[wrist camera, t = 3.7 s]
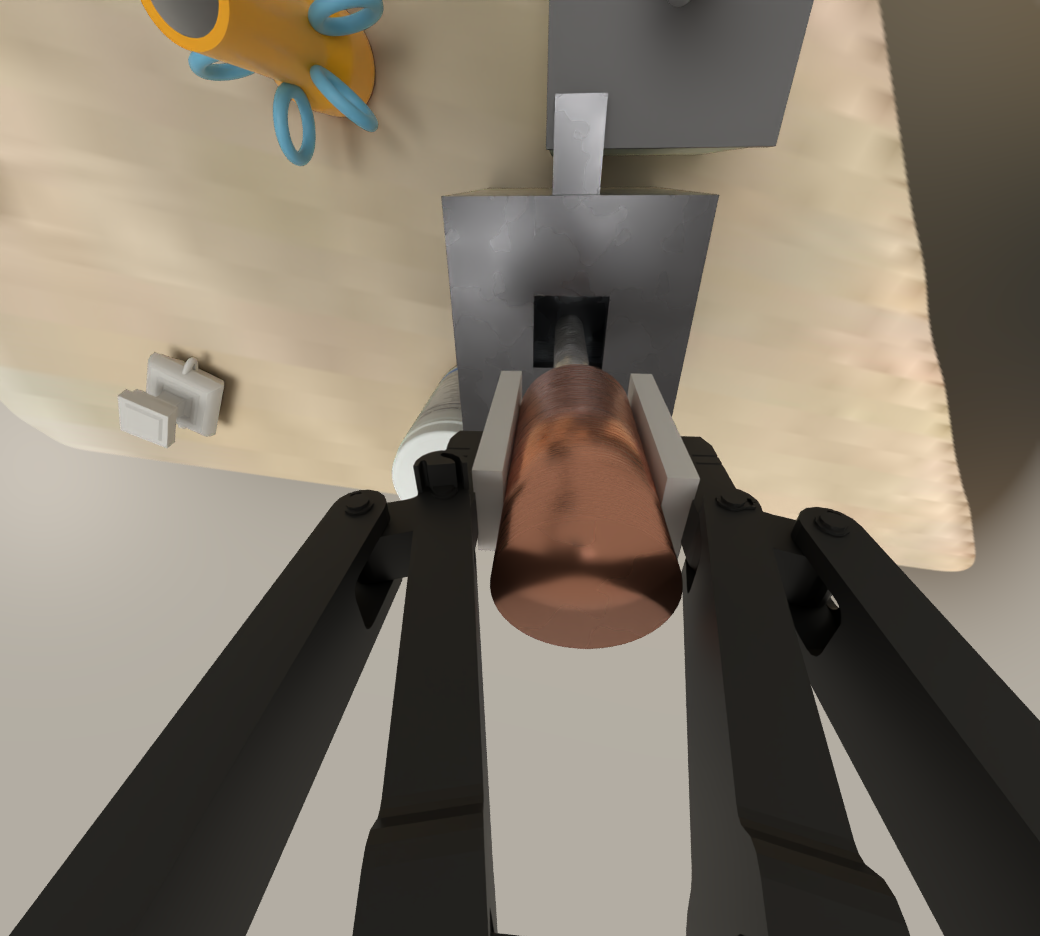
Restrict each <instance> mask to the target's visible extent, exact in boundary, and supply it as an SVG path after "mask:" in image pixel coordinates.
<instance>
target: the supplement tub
mask: <svg viewBox="0 0 1040 936" xmlns="http://www.w3.org/2000/svg"><path fill="white" fill-rule="evenodd" d="M460 430H461V431H463V424H462V413H461V402H460V391H459V381H458V370H457V366H456V367H454V368H453V369H451V370H450V371H449V372H448V373H447V374H446V375H445V376H444V377H443V379H442V380H441V382H440V383H439V385H438V386H437V388H436V389H435V391H434V393H433V394H432V396H431V397H430V399H429V400H428V402H427V403H426V405H425V407H424V408H423V410H422V411H421V413H420V414H419V416H418V417H417V419H416V421H415V422H414V424H413V425H412V427H411V428H410V430H409V431H408V433H407V435H406V436H405V438H404V440H403V441H402V443H401V445H400V446H399V449H398V451H397V455H396V457H395V459H394V462H393V467H392V480H393V484H394V488H395V490H396V492H397V494H398V496H399V498H400V499H401V500H406V499H410V498H413V497H415V496H417V495H418V492H417V486H416V480H415V475H414V469H413V465H414V463H415V461H416V460H417V459H419V458H420V457H421V456H422V455H425V454H427V453H430V452H434V451H440V450H446V449H447V445H448V443H449V440H450V438H451V437H453V436H454V435H455V434H456V433H457V432H459V431H460Z"/></svg>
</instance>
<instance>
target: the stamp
mask: <svg viewBox="0 0 1040 936" xmlns="http://www.w3.org/2000/svg"><path fill="white" fill-rule="evenodd" d="M223 389H224V381H223V380H221V379H219V378H217V377H215V376H213V375H211V374H209V373H207V372H205V371H203V370H201V369H199V368H198V361H197V359H196V358H195V357H191V358H189V359H188V360H187V361H186V362H184V361H182V360H178V359H174V358H172V357H169V356H166V355H163V354H158V353H156V352H154V353H153V354H152V355H150V357H149V359H148V370H147V387H146V392H144V391H142V390H138V389H136V390H134V391H133V392H132V391H129V390H127V389H126V390H125V391H123V392H122V393H121V394H119V395H118V406H119V418H120V430H121V431H124V432H127V433H129V434H132V435H134V436H137V437H139V438H142V439H144V440H147V441H150V442H152V443H155V444H157V445H160V446H162V447H165V448H168V447H169V446H171V445H172V444H173V443H174V442H175V428H176V423H177V424H178V426H179V428H183V429H185V428H188V429H190V430H192V431H195V432H197V433H199V434H201V435H203V436H212V435H215V434H216V428H217V423H218V417H219V411H220V406H221V400H222V395H223Z"/></svg>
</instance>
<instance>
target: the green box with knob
mask: <svg viewBox="0 0 1040 936" xmlns="http://www.w3.org/2000/svg"><path fill="white" fill-rule="evenodd" d="M813 1H814V0H549V35H548V82H547V128H546V150H550V152H551V155H552V156H554V122H555V94H573V93H608V99H607V111H606V124H605V136H604V148H603V156H615V155H699V154H708V153H715V152H722V151H728V150H735V149H741V148H748V147H773V146H776V142H777V139H778V135H779V131H780V127H781V123H782V120H783V116H784V112H785V108H786V104H787V100H788V97H789V93H790V89H791V85H792V81H793V77H794V74H795V70H796V66H797V62H798V58H799V54H800V51H801V47H802V43H803V39H804V35H805V31H806V28H807V24H808V20H809V16H810V12H811V9H812V5H813Z"/></svg>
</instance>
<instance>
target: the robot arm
mask: <svg viewBox="0 0 1040 936" xmlns="http://www.w3.org/2000/svg"><path fill="white" fill-rule="evenodd" d="M627 397H628V399H629V403H630V406H631V409H632V413H633V416H634V419H635V422H636V426H637V429H638V432H639V436H640V439H641V442H642V445H643V449H644V452H645V455H646V459H647V462H648V465H649V468H650V472H651V475H652V478H653V481H654V485H655V488H656V491H657V495H658V498H659V501H660V504H661V508H662V511H663V514H664V518H665V521H666V524H667V527H668V531H669V534H670V537H671V541H672V544H673V547H674V550H675V554H676V557H677V560H678V556H679V552H680V549H681V545H682V547H683V550H684V553H685V556H686V559H685V563H684V566H683V569H682V573H681V574H682V579H683V616H684V645H685V678H686V708H687V735H688V736H687V738H688V769H689V799H690V830H691V859H692V883H691V893H690V899H689V906H688V913H687V927H686V936H910V934H909V931H908V928H907V925H906V923H905V920H904V917H903V915H902V912H901V910H900V907H899V905H898V902H897V900H896V898H895V896H894V895H893V893H892V891H891V890H890V888H889V887H888V885H887V884H886V882H885V880H884V879H883V878H882V877H880V876H879V875H878V874H877V873H875V872H874V871H873V870H872V869H870V868H869V867H868V866H867V865H865V863H864V862H863V860H862V858H861V857H860V855H859V853H858V850H857V848H856V845H855V842H854V839H853V835H852V832H851V828H850V824H849V821H848V818H847V814H846V810H845V806H844V803H843V799H842V796H841V792H840V788H839V785H838V782H837V778H836V774H835V771H834V767H833V763H832V760H831V756H830V752H829V749H828V746H827V742H826V738H825V734H824V731H823V727H822V724H821V721H820V717H819V713H818V710H817V706H816V702H815V698H814V695H813V691H812V688H813V690H814V691H815V693H816V695H817V697H818V699H819V701H820V703H821V705H822V706H823V708H824V710H825V712H826V714H827V716H828V718H829V720H830V722H831V724H832V725H833V727H834V729H835V731H836V733H837V735H838V737H839V739H840V740H841V742H842V744H843V746H844V748H845V750H846V752H847V754H848V755H849V757H850V759H851V761H852V763H853V765H854V767H855V769H856V771H857V772H858V774H859V776H860V778H861V780H862V782H863V784H864V785H865V787H866V789H867V791H868V793H869V795H870V797H871V799H872V801H873V803H874V804H875V806H876V808H877V810H878V812H879V814H880V815H881V818H882V819H883V821H884V823H885V825H886V827H887V829H888V831H889V833H890V834H891V836H892V838H893V840H894V842H895V844H896V845H897V848H898V850H899V851H900V853H901V855H902V857H903V859H904V861H905V862H906V865H907V866H908V868H909V870H910V872H911V874H912V876H913V878H914V880H915V881H916V883H917V885H918V887H919V889H920V891H921V893H922V895H923V897H924V898H925V900H926V902H927V904H928V906H929V908H930V910H931V912H932V914H933V915H934V917H935V919H936V921H937V923H938V925H939V927H940V929H941V930H942V932H943V934H944V936H1040V721H1039V719H1038V718H1037V717H1036V716H1035V715H1034V714H1033V713H1032V712H1031V711H1030V710H1029V709H1028V707H1027V706H1025V704H1024V703H1023V702H1022V701H1021V700H1020V699H1019V698H1018V697H1017V696H1016V694H1015V693H1014V692H1013V691H1012V690H1011V689H1010V688H1009V687H1008V686H1007V685H1006V683H1005V682H1004V681H1003V680H1002V679H1001V678H1000V677H999V676H998V675H997V674H996V673H995V672H994V671H993V669H992V668H991V667H990V666H989V665H988V664H987V663H986V662H985V661H984V660H983V658H982V657H981V656H980V655H979V654H978V653H977V652H976V651H975V650H974V649H973V648H972V646H971V645H970V644H969V643H968V642H967V641H966V640H965V639H964V638H963V637H962V636H961V635H960V633H959V632H958V631H957V630H956V629H955V628H954V627H953V626H952V625H951V623H950V622H949V621H948V620H947V619H946V618H945V617H944V616H943V615H942V614H941V613H940V611H938V609H937V608H936V607H935V606H934V605H933V604H932V603H931V602H930V601H929V599H928V598H927V597H926V596H925V595H924V594H923V593H922V592H921V591H920V590H919V589H918V587H917V586H916V585H915V584H914V583H913V582H912V581H911V580H910V579H909V578H908V577H907V575H906V574H904V572H903V571H902V570H901V569H900V568H899V567H898V566H897V565H896V563H895V562H894V561H893V560H892V559H891V558H890V557H889V556H888V555H887V554H886V553H885V551H884V550H883V549H882V548H881V547H880V546H879V545H878V544H877V543H876V542H875V541H874V539H873V538H872V537H871V536H870V535H869V534H868V533H867V532H866V531H865V530H864V529H863V527H862V526H861V525H859V524H858V523H857V522H856V521H855V520H853V519H852V518H850V517H848V516H846V515H844V514H842V513H841V512H838V511H834V510H832V509H828V508H820V507H812V508H806V509H804V510H803V511H801V512H800V514H799V516H798V518H797V520H793V519H789V518H785V517H780V516H776V515H772V514H769V513H766V512H763V511H762V508H761V506H760V504H759V502H758V501H757V500H756V499H755V498H754V497H752V496H751V495H750V494H748V493H746V492H743V491H741V490H739V489H736V488H735V486H734V484H733V483H732V481H731V479H730V477H729V476H728V474H727V472H726V470H725V468H724V467H723V465H722V463H721V461H720V460H719V458H718V457H717V454H716V452H715V451H714V449H713V447H712V446H711V445H710V444H709V443H708V442H706V441H705V440H704V439H702V438H701V437H687V436H680V434H679V432H678V430H677V428H676V425H675V423H674V421H673V419H672V417H671V415H670V412H669V410H668V408H667V406H666V404H665V402H664V399H663V397H662V395H661V393H660V391H659V389H658V386H657V384H656V382H655V380H654V378H653V375H652V374H631V375H630V381H629V388H628V395H627ZM521 402H522V371H501V374H500V378H499V381H498V384H497V388H496V391H495V394H494V398H493V401H492V404H491V408H490V411H489V414H488V418H487V421H486V424H485V428H484V431H461V430H460V431H459V432H457V433H456V434H455V435H454V436H453V437H451V438H450V440H449V443H448V445H447V449H446V450H440V451H434V452H430V453H427V454H425V455H422V456H421V457H420V458H419V459H417V460H416V461H415V463H414V465H413V469H414V475H415V480H416V486H417V492H418V495H417V496H415V497H413V498H410V499H406V500H401V501H396V502H390V503H387V502H386V499H385V496H384V495H382V494H381V493H380V492H378V491H373V490H359V491H355V492H352V493H348V494H347V495H345V496H343V497H341V498H339V499H338V500H337V501H336V502H335V503H334V504H333V506H332V507H331V508H330V509H329V511H328V512H327V513H326V515H325V516H324V518H323V519H322V520H321V521H320V523H319V524H318V525H317V527H316V528H315V529H314V531H313V532H312V533H311V535H310V536H309V537H308V539H307V540H306V541H305V543H304V544H303V545H302V547H301V548H300V549H299V551H298V552H297V553H296V555H295V556H294V557H293V558H292V560H291V561H290V562H289V564H288V565H287V566H286V568H285V569H284V571H283V572H282V573H281V575H280V576H279V577H278V579H277V580H276V581H275V583H274V584H273V585H272V587H271V588H270V589H269V591H268V592H267V593H266V594H265V596H264V597H263V599H262V600H261V601H260V603H259V604H258V605H257V606H256V608H255V609H254V611H253V612H252V613H251V614H250V616H249V617H248V619H247V620H246V621H245V622H244V624H243V625H242V627H241V628H240V629H239V630H238V632H237V633H236V634H235V636H234V637H233V638H232V640H231V641H230V642H229V644H228V645H227V646H226V648H225V649H224V650H223V652H222V653H221V655H220V656H219V657H218V658H217V660H216V661H215V662H214V664H213V665H212V666H211V668H210V669H209V670H208V672H207V673H206V674H205V676H204V677H203V678H202V680H201V681H200V682H199V684H198V685H197V686H196V688H195V689H194V690H193V692H192V693H191V694H190V696H189V697H188V698H187V699H186V701H185V702H184V704H183V705H182V706H181V708H180V709H179V710H178V711H177V713H176V714H175V716H174V717H173V718H172V720H171V721H170V722H169V723H168V725H167V726H166V728H165V729H164V730H163V731H162V733H161V734H160V735H159V737H158V738H157V739H156V741H155V742H154V744H153V745H152V746H151V747H150V749H149V750H148V751H147V753H146V754H145V755H144V757H143V758H142V759H141V761H140V762H139V764H138V765H137V766H136V768H135V769H134V770H133V772H132V773H131V774H130V775H129V777H128V778H127V779H126V781H125V782H124V784H123V785H122V786H121V787H120V789H119V790H118V792H117V793H116V794H115V795H114V797H113V798H112V799H111V801H110V802H109V803H108V805H107V806H106V807H105V809H104V810H103V811H102V813H101V814H100V815H99V817H98V818H97V819H96V821H95V822H94V823H93V825H92V826H91V827H90V829H89V830H88V831H87V833H86V834H85V835H84V837H83V838H82V839H81V841H80V842H79V843H78V844H77V846H76V847H75V848H74V850H73V851H72V852H71V854H70V855H69V857H68V858H67V859H66V861H65V862H64V863H63V865H62V866H61V867H60V869H59V870H58V871H57V873H56V874H55V875H54V876H53V878H52V879H51V880H50V882H49V883H48V884H47V886H46V887H45V888H44V890H43V891H42V892H41V894H40V895H39V896H38V898H37V899H36V900H35V902H34V903H33V905H32V906H31V907H30V908H29V910H28V911H27V912H26V914H25V915H24V916H23V918H22V919H21V920H20V922H19V923H18V924H17V926H16V927H15V928H14V930H13V931H12V932H11V934H10V935H9V936H246V934H247V931H248V929H249V927H250V925H251V922H252V920H253V918H254V916H255V913H256V911H257V909H258V906H259V904H260V902H261V900H262V897H263V895H264V893H265V890H266V888H267V886H268V883H269V881H270V879H271V877H272V875H273V872H274V870H275V868H276V866H277V863H278V861H279V859H280V857H281V854H282V852H283V850H284V847H285V845H286V843H287V840H288V838H289V836H290V834H291V831H292V829H293V827H294V825H295V822H296V820H297V818H298V815H299V813H300V811H301V809H302V807H303V804H304V802H305V800H306V797H307V795H308V793H309V791H310V788H311V786H312V784H313V781H314V779H315V777H316V775H317V772H318V770H319V768H320V766H321V763H322V761H323V759H324V757H325V754H326V752H327V750H328V748H329V745H330V743H331V741H332V738H333V736H334V734H335V732H336V729H337V727H338V725H339V722H340V720H341V718H342V716H343V713H344V711H345V709H346V707H347V704H348V702H349V700H350V698H351V695H352V693H353V691H354V688H355V686H356V684H357V682H358V679H359V677H360V675H361V672H362V670H363V668H364V666H365V663H366V661H367V659H368V657H369V654H370V652H371V650H372V648H373V645H374V643H375V641H376V638H377V636H378V634H379V632H380V629H381V627H382V625H383V623H384V620H385V618H386V616H387V613H388V611H389V609H390V607H391V604H392V602H393V600H394V598H395V595H396V593H397V591H398V589H399V586H400V584H401V582H402V578H403V577H408V580H407V589H406V597H405V606H404V614H403V624H402V632H401V640H400V648H399V657H398V665H397V674H396V682H395V691H394V699H393V708H392V716H391V725H390V734H389V741H388V750H387V758H386V767H385V775H384V785H383V792H382V800H381V807H380V811H379V815H378V819H377V820H376V822H375V823H374V825H373V827H372V828H371V830H370V832H369V836H368V839H367V843H366V846H365V852H364V858H363V863H362V869H361V876H360V884H359V892H358V898H357V906H356V914H355V921H354V928H353V936H517V935H508V934H499V933H497V918H496V901H495V888H494V887H495V886H494V873H493V859H492V841H491V825H490V805H489V786H488V769H487V752H486V751H487V750H486V732H485V714H484V696H483V678H482V660H481V641H480V624H479V606H478V605H479V604H478V588H477V587H478V586H477V569H476V554H475V547H476V542H477V538H478V549H479V550H490V551H491V550H492V551H495V549H496V543H497V538H498V532H499V526H500V520H501V515H502V509H503V504H504V498H505V492H506V486H507V481H508V475H509V469H510V463H511V458H512V452H513V446H514V440H515V434H516V429H517V423H518V417H519V411H520V406H521ZM832 595H833V596H834V598H835V600H836V601H837V603H838V605H839V608H838V607H837V606H836V605H835V604H834V602H833V601H832V599H831V598H830V597H831V596H832ZM811 686H812V688H811Z"/></svg>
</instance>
